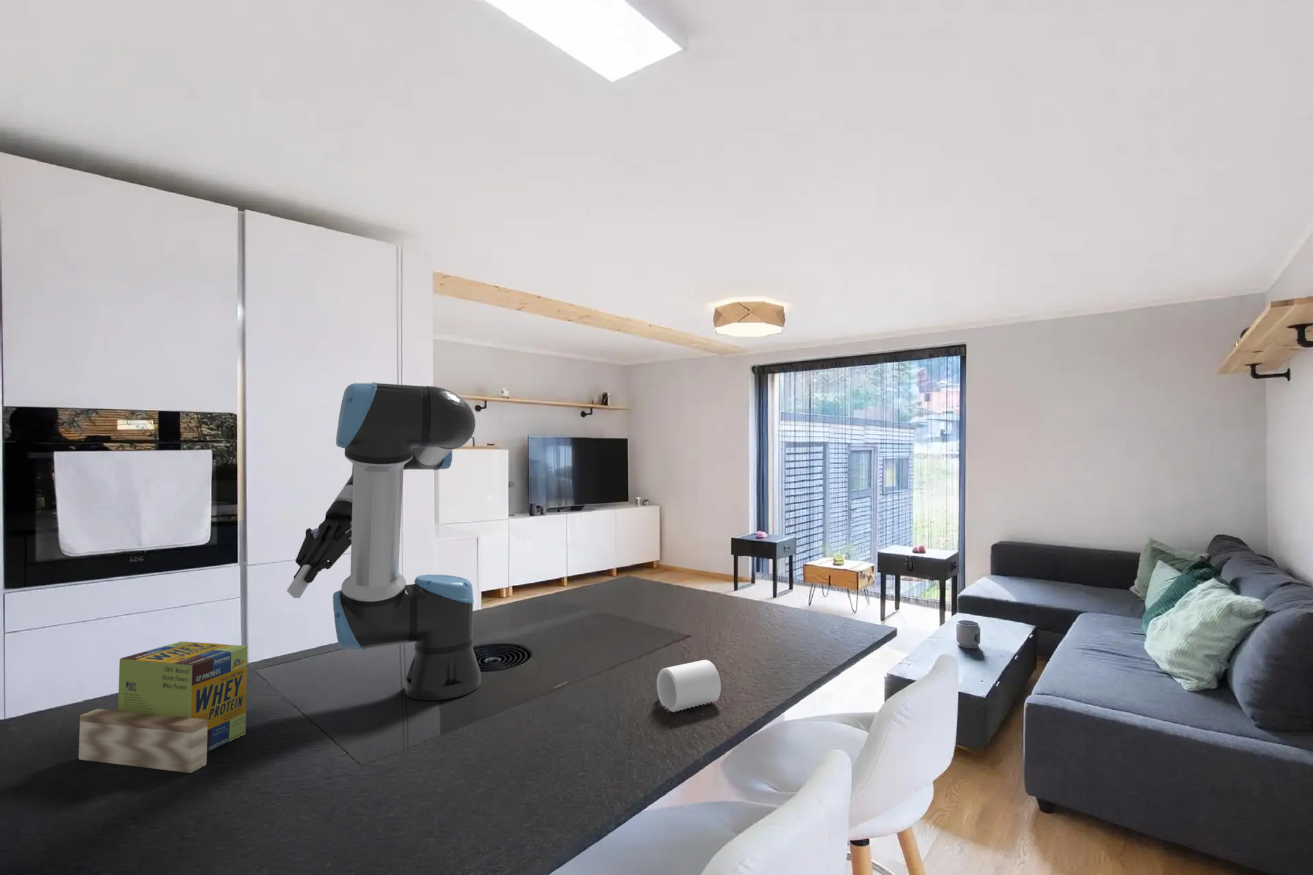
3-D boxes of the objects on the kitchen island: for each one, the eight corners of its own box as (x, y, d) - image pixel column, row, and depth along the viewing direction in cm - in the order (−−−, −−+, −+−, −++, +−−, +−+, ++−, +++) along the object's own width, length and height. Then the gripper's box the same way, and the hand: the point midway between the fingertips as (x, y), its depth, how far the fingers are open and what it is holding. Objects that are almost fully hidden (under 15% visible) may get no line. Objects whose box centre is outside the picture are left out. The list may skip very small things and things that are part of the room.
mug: (721, 707, 117) (721, 665, 117) (678, 719, 112) (677, 675, 112) (687, 687, 127) (687, 649, 128) (646, 697, 122) (646, 657, 122)
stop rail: (206, 764, 96) (207, 719, 96) (190, 772, 93) (191, 726, 93) (96, 751, 100) (97, 708, 100) (78, 759, 97) (80, 715, 98)
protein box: (189, 763, 96) (192, 664, 97) (114, 753, 100) (117, 658, 100) (247, 734, 106) (249, 645, 107) (177, 726, 110) (179, 639, 110)
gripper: (380, 519, 145) (329, 605, 128) (332, 518, 148) (276, 603, 131) (366, 498, 140) (311, 584, 123) (317, 498, 143) (256, 583, 126)
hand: (293, 594), depth 127 cm, fingers closed
